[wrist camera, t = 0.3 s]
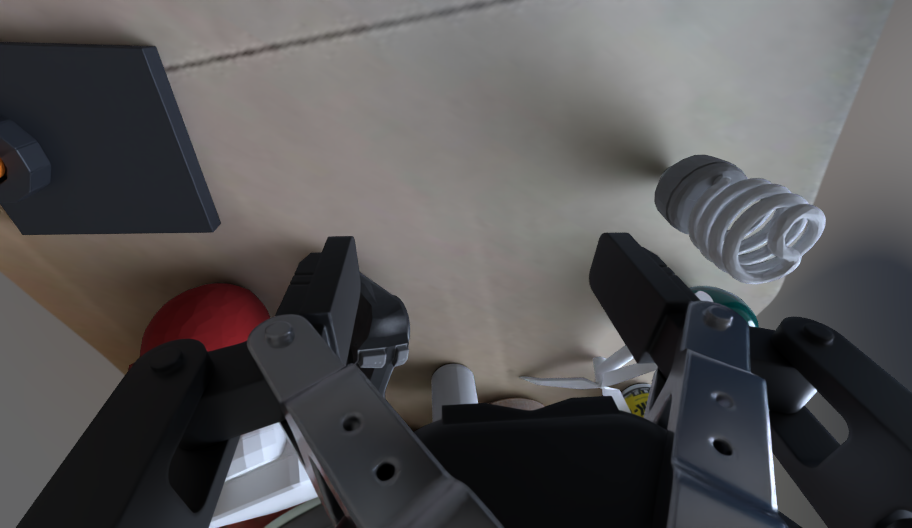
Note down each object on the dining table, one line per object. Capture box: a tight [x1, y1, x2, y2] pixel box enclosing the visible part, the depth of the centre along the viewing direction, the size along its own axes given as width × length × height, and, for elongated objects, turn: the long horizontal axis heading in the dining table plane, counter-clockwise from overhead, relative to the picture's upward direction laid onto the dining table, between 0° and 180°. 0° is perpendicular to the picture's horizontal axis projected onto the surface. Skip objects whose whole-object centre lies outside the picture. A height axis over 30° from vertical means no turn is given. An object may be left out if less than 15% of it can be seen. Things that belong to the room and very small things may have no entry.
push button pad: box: [0, 42, 221, 235], centre depth 24 cm, size 14×12×3 cm
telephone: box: [209, 422, 318, 528], centre depth 37 cm, size 16×20×9 cm
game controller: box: [346, 272, 410, 398], centre depth 33 cm, size 16×7×10 cm, turn 161°
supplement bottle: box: [621, 384, 651, 417], centre depth 43 cm, size 5×5×8 cm
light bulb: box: [655, 155, 825, 284], centre depth 25 cm, size 6×6×12 cm
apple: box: [140, 283, 270, 357], centre depth 29 cm, size 9×9×10 cm
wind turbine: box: [519, 291, 713, 413], centre depth 37 cm, size 4×14×21 cm
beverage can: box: [431, 364, 478, 422], centre depth 37 cm, size 5×5×12 cm
